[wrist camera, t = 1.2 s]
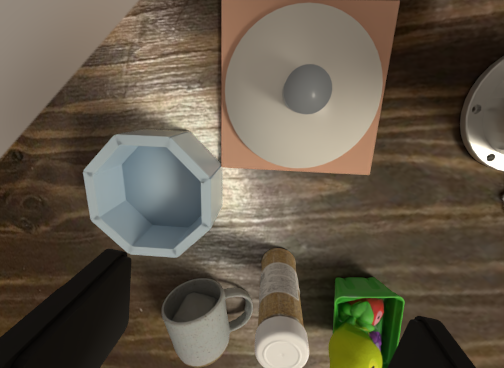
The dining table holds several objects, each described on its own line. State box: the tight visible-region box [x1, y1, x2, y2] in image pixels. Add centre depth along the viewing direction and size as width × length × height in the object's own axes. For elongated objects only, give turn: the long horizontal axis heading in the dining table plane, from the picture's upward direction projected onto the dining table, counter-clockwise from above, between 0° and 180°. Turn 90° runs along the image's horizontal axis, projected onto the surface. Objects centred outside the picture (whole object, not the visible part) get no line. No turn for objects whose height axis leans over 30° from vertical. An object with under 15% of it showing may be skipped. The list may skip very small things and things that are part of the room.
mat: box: [221, 0, 400, 175], centre depth 27 cm, size 17×17×1 cm
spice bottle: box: [255, 248, 309, 368], centre depth 27 cm, size 5×5×14 cm
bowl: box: [83, 129, 222, 258], centre depth 29 cm, size 13×13×6 cm
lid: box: [225, 3, 383, 168], centre depth 24 cm, size 16×16×6 cm
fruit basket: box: [329, 277, 404, 368], centre depth 30 cm, size 11×9×11 cm
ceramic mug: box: [162, 278, 253, 367], centre depth 33 cm, size 11×8×8 cm
